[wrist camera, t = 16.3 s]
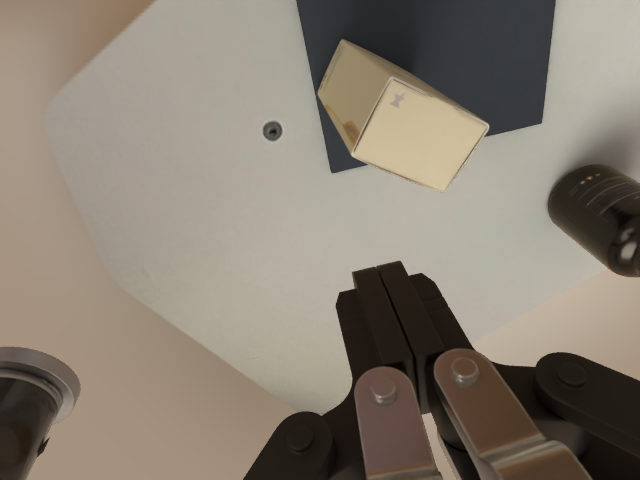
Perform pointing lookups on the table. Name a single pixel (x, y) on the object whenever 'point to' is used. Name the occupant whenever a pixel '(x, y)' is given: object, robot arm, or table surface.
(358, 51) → the cosmetic box
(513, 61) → the mat
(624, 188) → the supplement bottle
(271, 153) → the table surface
